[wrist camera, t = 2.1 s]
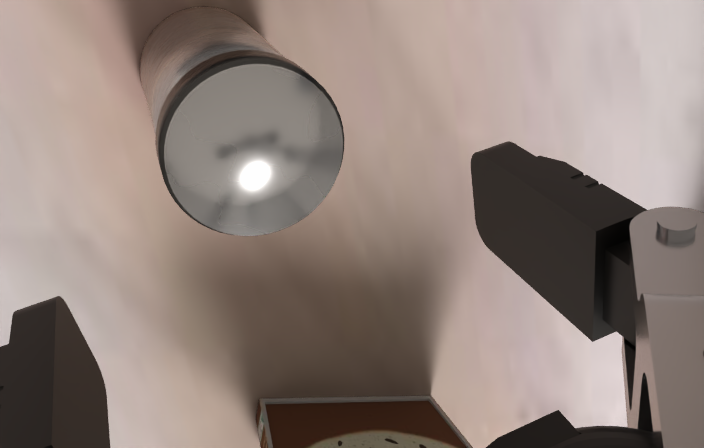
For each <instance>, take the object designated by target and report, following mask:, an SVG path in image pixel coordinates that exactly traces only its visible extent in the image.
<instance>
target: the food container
mask: <svg viewBox="0 0 704 448" xmlns="http://www.w3.org/2000/svg"><path fill="white" fill-rule="evenodd" d="M256 422H257V428H258V434H259V440H260V446H261V448H473V447H472V446H471V445H470V444H469V442H468V441H467V440H466V439H465V437H464V436H463V435H462V434H461V432H460V431H459V430H458V429H457V427H456V426H455V425H454V424H453V422H452V421H451V420H450V419H449V417H448V416H447V415H446V414H445V412H444V411H443V410H442V409H441V407H440V406H439V405H438V404H437V402H436V401H435V400H434V399H433V397H432V396H431V395H429V396H375V397H321V398H266V399H259V402H258V408H257V414H256Z"/></svg>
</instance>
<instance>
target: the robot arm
mask: <svg viewBox="0 0 704 448" xmlns="http://www.w3.org/2000/svg"><path fill="white" fill-rule="evenodd" d="M471 174H472V186H473V197H474V209H475V220H476V225H477V229H478V232H479V234H480V236H481V238H482V240H483V242H484V243H485V245H486V246H487V247H488V248H489V249H490V250H491V251H492V252H493V253H494V254H495V255H496V256H497V257H499V258H500V259H501V260H502V261H503V262H504V263H505V264H506V265H507V266H509V267H510V268H511V269H512V270H513V271H514V272H515V273H516V274H518V275H519V276H520V277H521V278H522V279H523V280H524V281H525V282H526V283H528V284H529V285H530V286H531V287H532V288H533V289H534V290H535V291H537V292H538V293H539V294H540V295H541V296H542V297H543V298H544V299H545V300H547V301H548V302H549V303H550V304H551V305H552V306H553V307H554V308H556V309H557V310H558V311H559V312H560V313H561V314H562V315H563V316H564V317H566V318H567V319H568V320H569V321H570V322H571V323H572V324H573V325H575V326H576V327H577V328H578V329H579V330H580V331H581V332H582V333H583V334H585V335H586V336H587V337H588V338H589V339H590V340H591V341H592V342H593V341H595V340H598V339H600V338H602V337H604V336H607V335H609V334H611V333H614V332H616V331H617V332H618V333H619V334H620V335H622V336H623V339H622V361H623V374H624V386H625V399H626V411H627V424H628V428H627V427H618V426H593V427H581V428H574V427H573V426H572V425H571V423H570V422H569V421H568V420H567V419H566V418H565V417H564V416H563V415H562V414H561V412H560V411H559V410H557V411H555V412H553V413H551V414H548V415H546V416H544V417H542V418H540V419H538V420H535V421H533V422H531V423H529V424H527V425H525V426H522V427H520V428H518V429H516V430H514V431H512V432H509V433H507V434H505V435H503V436H501V437H499V438H497V439H496V440H495V441H493V442H492V443H491V444H490V445H488V446H487V447H486V448H704V213H703V212H701V211H697V210H694V209H689V208H683V207H660V208H654V209H650V210H646V209H645V208H643V207H641V206H639V205H638V204H636V203H634V202H633V201H631V200H629V199H627V198H626V197H624V196H622V195H620V194H619V193H617V192H615V191H614V190H612V189H610V188H608V187H607V186H605V185H603V184H600V185H599V183H598V181H596V180H595V179H593V178H591V177H590V176H588V175H585V176H584V175H583V172H581V171H579V170H578V169H576V168H574V167H572V166H571V165H569V164H567V163H566V162H563V161H559V160H555V159H551V158H547V157H543V156H538V157H536V156H534V155H532V154H531V153H529V152H527V151H526V150H524V149H522V148H521V147H519V146H518V145H516V144H514V143H512V142H505V143H502V144H499V145H496V146H493V147H490V148H488V149H485V150H482V151H479V152H476V153H474V154H473V156H472V159H471ZM0 448H110V438H109V424H108V409H107V395H106V389H105V384H104V380H103V377H102V374H101V371H100V369H99V366H98V364H97V362H96V359H95V358H94V356H93V354H92V352H91V350H90V348H89V346H88V344H87V342H86V340H85V338H84V336H83V335H82V333H81V331H80V329H79V327H78V325H77V323H76V321H75V319H74V317H73V315H72V313H71V312H70V310H69V308H68V306H67V304H66V303H65V301H64V300H63V299H62V298H61V297H60V296H57V297H54V298H52V299H49V300H46V301H43V302H40V303H37V304H34V305H31V306H29V307H26V308H23V309H20V310H17V311H15V312H14V313H13V317H12V325H11V332H10V340H9V344H7V345H4V346H2V347H0Z"/></svg>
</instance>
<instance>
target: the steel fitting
mask: <svg viewBox="0 0 704 448" xmlns="http://www.w3.org/2000/svg"><path fill="white" fill-rule="evenodd" d="M140 77H141V83H142V87H143V90H144V94H145V98H146V101H147V105H148V108H149V112H150V116H151V119H152V123H153V126H154V130H155V134H156V150H157V156H158V160H159V164H160V168H161V171H162V175H163V179H164V182H165V184H166V186H167V188H168V191H169V193H170V194H171V196H172V197H173V199H174V201H175V202H176V203H177V204H178V205H179V207H180V208H181V209H182V210H183V211H184V212H185V213H186V214H187V215H189V216H190V217H191V218H192V219H194V220H195V221H197V222H198V223H200V224H202V225H204V226H206V227H208V228H210V229H212V230H215V231H218V232H221V233H226V234H230V235H239V236H257V235H264V234H269V233H273V232H277V231H280V230H282V229H285V228H287V227H289V226H291V225H293V224H295V223H297V222H299V221H300V220H302V219H303V218H305V217H306V216H307V215H309V214H310V213H311V212H312V211H313V210H314V209H315V208H316V207H317V206H318V205H319V204H320V203H321V202H322V201H323V200H324V198H325V197H326V195H327V194H328V193H329V191H330V189H331V188H332V186H333V184H334V182H335V180H336V177H337V175H338V173H339V170H340V167H341V163H342V159H343V152H344V132H343V126H342V122H341V118H340V115H339V112H338V110H337V107H336V105H335V104H334V102H333V100H332V98H331V97H330V95H329V94H328V93H327V92H326V90H325V89H324V88H323V87H322V86H321V85H320V84H319V83H318V82H317V81H316V80H315V79H314V78H313V77H312V76H310V75H309V74H308V73H307V72H306V71H305V70H304V69H302V68H301V67H300V66H298V65H297V64H295V63H294V62H292V61H290V60H288V59H286V58H285V57H284V56H283V55H281V54H280V53H279V52H278V51H277V50H276V49H275V48H274V47H273V46H272V45H271V44H269V43H268V42H267V41H266V40H265V39H264V38H263V37H262V36H261V35H260V34H259V33H257V32H256V31H255V30H254V29H253V28H252V27H251V26H250V25H249V24H248V23H247V22H245V21H244V20H243V19H241V18H240V17H238V16H237V15H235V14H233V13H231V12H228V11H226V10H223V9H219V8H215V7H193V8H188V9H184V10H181V11H179V12H176V13H174V14H172V15H171V16H169V17H168V18H166V19H165V20H163V21H162V22H161V23H160V24H159V25H158V26H157V27H156V28H155V29H154V30H153V32H152V33H151V34H150V36H149V38H148V39H147V41H146V43H145V46H144V48H143V52H142V55H141V61H140Z"/></svg>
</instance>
